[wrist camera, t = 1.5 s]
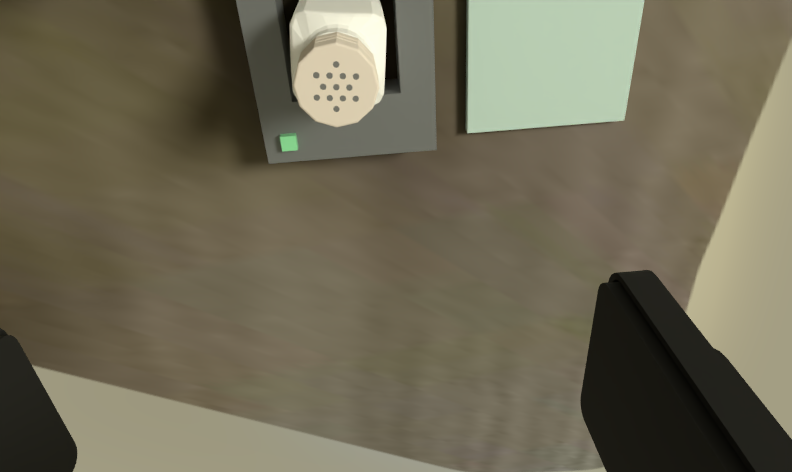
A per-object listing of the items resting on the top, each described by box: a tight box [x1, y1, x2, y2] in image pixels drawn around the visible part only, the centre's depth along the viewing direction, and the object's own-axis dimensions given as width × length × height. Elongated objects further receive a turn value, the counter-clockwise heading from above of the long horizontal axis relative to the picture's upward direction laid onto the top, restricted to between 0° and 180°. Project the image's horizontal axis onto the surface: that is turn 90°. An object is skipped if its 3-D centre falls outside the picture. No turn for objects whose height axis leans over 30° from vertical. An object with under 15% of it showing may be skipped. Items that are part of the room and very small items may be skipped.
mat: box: [466, 0, 644, 133], centre depth 29 cm, size 12×9×1 cm
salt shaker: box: [289, 0, 387, 127], centre depth 25 cm, size 4×4×10 cm
